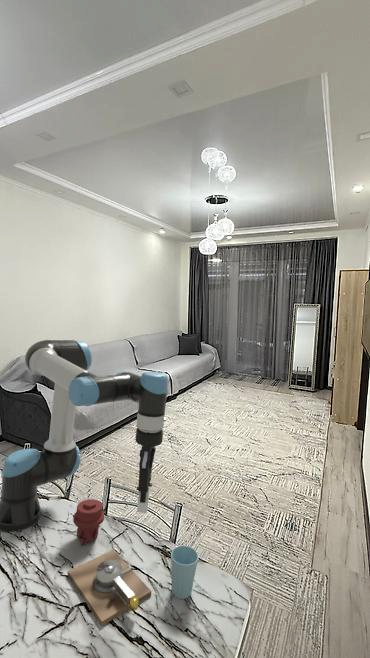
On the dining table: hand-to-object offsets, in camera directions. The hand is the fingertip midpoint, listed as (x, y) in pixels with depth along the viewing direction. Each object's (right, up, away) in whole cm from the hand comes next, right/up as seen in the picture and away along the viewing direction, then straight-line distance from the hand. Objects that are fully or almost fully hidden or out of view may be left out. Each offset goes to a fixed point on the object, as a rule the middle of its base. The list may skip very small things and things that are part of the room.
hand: (142, 511), depth 92 cm
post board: (-10, -21, 0) cm, 23 cm away
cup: (+11, -23, 0) cm, 25 cm away
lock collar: (-6, -19, -4) cm, 20 cm away
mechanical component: (-21, -20, +18) cm, 34 cm away
